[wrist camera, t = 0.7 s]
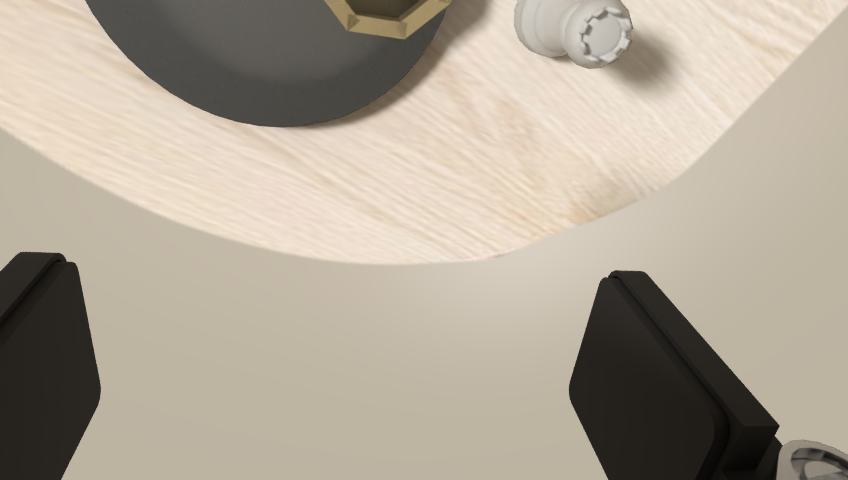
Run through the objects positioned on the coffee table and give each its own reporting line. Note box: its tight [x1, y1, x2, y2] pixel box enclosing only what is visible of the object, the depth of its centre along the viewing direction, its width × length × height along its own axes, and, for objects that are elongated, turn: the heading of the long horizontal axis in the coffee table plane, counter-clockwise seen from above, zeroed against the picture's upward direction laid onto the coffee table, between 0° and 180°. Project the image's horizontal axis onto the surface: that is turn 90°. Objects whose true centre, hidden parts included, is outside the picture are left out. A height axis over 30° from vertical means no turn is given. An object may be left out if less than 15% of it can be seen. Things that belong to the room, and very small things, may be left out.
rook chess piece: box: [514, 0, 633, 69], centre depth 30 cm, size 4×4×8 cm
